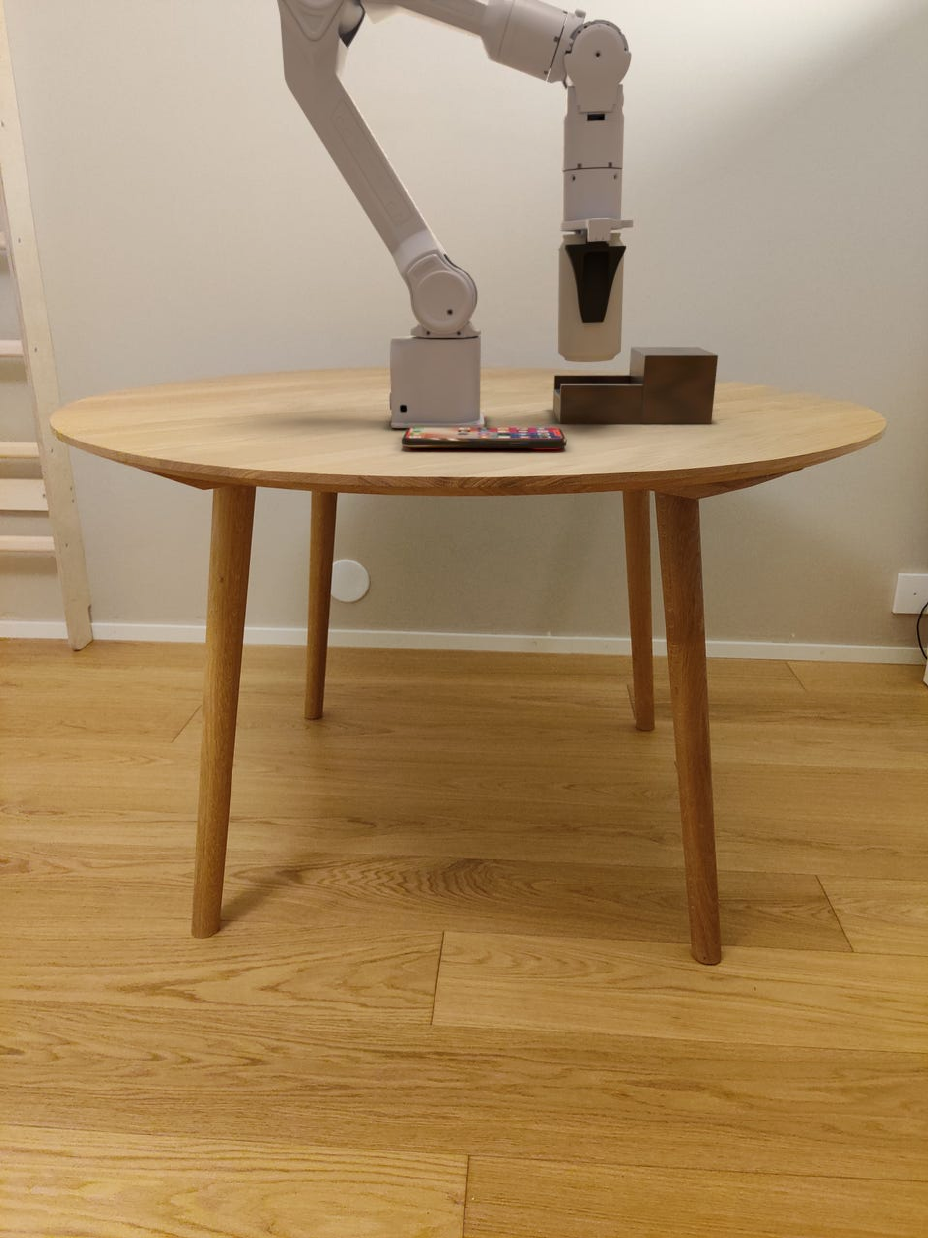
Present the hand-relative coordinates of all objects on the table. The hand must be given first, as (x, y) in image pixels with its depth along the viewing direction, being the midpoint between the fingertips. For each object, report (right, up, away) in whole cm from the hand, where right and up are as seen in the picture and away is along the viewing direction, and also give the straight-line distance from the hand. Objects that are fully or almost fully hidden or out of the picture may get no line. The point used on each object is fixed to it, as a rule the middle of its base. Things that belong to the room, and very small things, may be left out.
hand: (589, 320), depth 93 cm
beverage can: (0, -4, +1) cm, 4 cm away
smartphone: (-11, -14, -6) cm, 19 cm away
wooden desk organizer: (+5, -8, +8) cm, 13 cm away
